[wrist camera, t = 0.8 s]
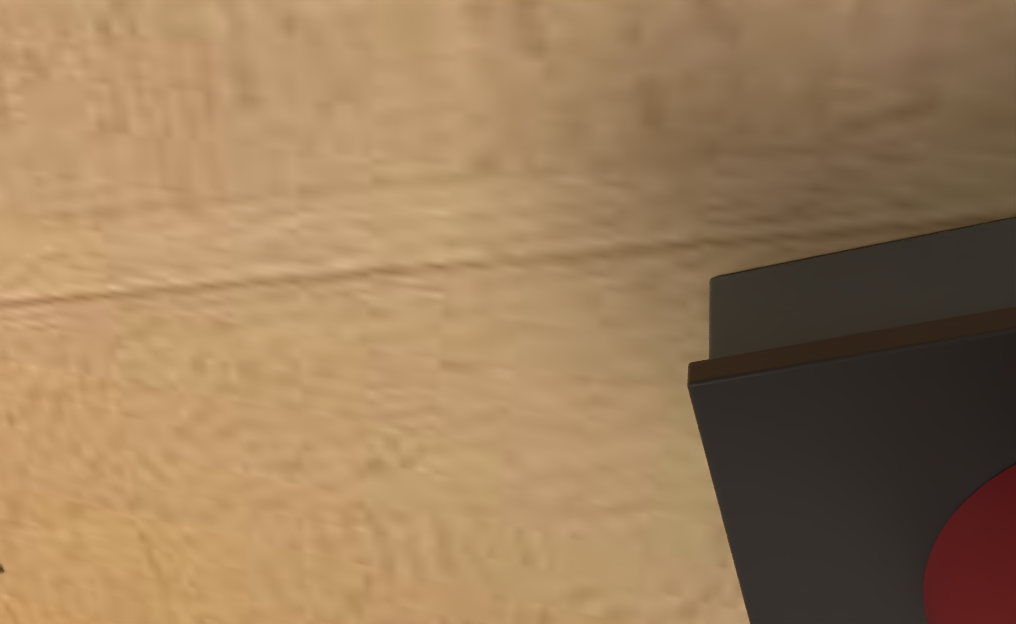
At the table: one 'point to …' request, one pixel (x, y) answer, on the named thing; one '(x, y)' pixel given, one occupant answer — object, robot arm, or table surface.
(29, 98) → the table surface
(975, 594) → the tub
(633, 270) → the table surface
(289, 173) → the table surface
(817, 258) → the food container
